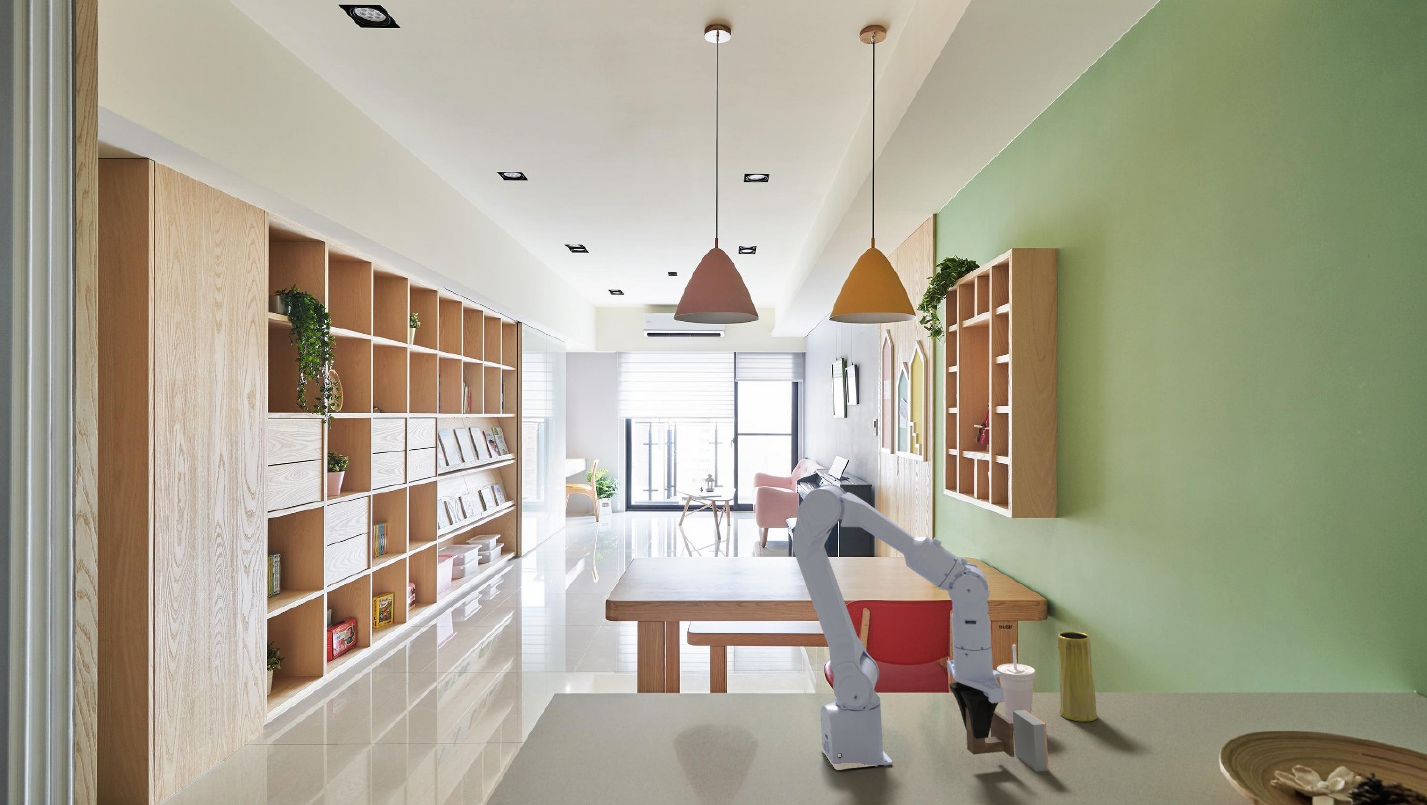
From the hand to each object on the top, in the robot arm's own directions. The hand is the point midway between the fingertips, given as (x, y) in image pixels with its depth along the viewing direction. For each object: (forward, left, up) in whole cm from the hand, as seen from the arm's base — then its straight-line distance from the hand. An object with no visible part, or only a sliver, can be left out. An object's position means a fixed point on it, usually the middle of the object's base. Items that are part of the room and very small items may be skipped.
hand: (977, 733), depth 117 cm
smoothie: (+15, +14, -5) cm, 21 cm away
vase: (+27, +15, -5) cm, 31 cm away
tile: (+9, 0, -5) cm, 10 cm away
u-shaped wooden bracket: (+1, 0, -3) cm, 3 cm away
